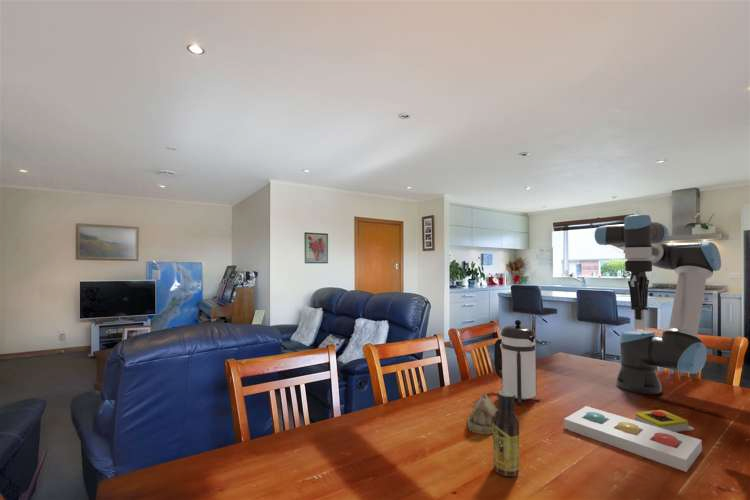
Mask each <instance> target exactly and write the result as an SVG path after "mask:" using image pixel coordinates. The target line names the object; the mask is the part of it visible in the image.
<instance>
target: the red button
mask: <svg viewBox="0 0 750 500" xmlns="http://www.w3.org/2000/svg"><path fill="white" fill-rule="evenodd" d="M655 442H658V443H661V444H664V445H667V446H670V447H673V448H677V447H678V439H677V438H676V437H674V436H672V435H669V434H665V433H655Z"/></svg>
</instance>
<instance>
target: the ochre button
mask: <svg viewBox="0 0 750 500" xmlns="http://www.w3.org/2000/svg"><path fill="white" fill-rule="evenodd" d="M618 430H621V431H624V432H627V433H630V434H633V435H636V436H637V435H638V434H639V427H638V426H637V425H635V424H633V423H629V422H619V423H618Z"/></svg>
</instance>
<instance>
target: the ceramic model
mask: <svg viewBox="0 0 750 500" xmlns="http://www.w3.org/2000/svg"><path fill="white" fill-rule="evenodd" d="M497 412H498V408H497V406H496V405H495V403H493V401H492V400H491V399H490V398H489V397H488V396H487V393H482V395H481V396H480V398H479V399H478V400H477V401H476V402H474V404H473V405H472V410H471V413H470V414H469V416H468V418H467V427H468V430H469V431H470V432H471V431H472V433H475V434H480V435H492V434H493V423H494V420H495V417H496V414H497Z"/></svg>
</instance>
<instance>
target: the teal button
mask: <svg viewBox="0 0 750 500" xmlns="http://www.w3.org/2000/svg"><path fill="white" fill-rule="evenodd" d="M586 419H587V420H590V421H593V422H596V423H599V424H603V423H605V416H604V415H602V414H599V413H596V412H587V413H586Z"/></svg>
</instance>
